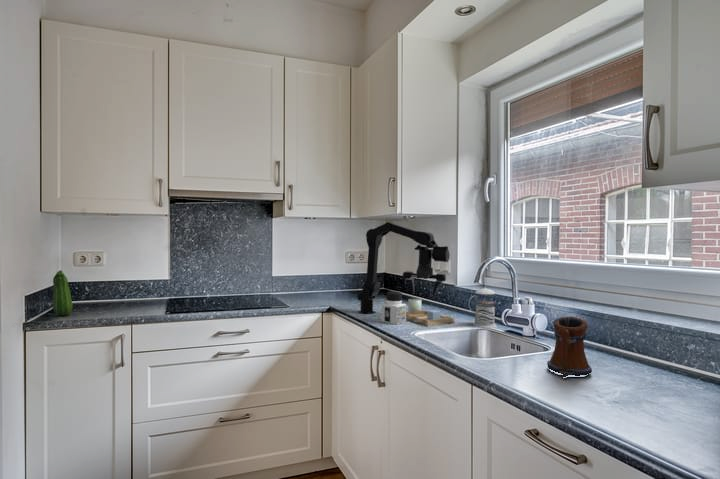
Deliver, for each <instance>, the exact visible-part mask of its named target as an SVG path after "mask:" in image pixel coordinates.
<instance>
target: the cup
mask: <svg viewBox="0 0 720 479" xmlns="http://www.w3.org/2000/svg"><path fill="white" fill-rule="evenodd" d="M413 311H422V299H421V298H408V311H407V312H413Z"/></svg>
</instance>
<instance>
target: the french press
mask: <svg viewBox="0 0 720 479" xmlns="http://www.w3.org/2000/svg"><path fill="white" fill-rule="evenodd" d="M487 269H489V266H488V267H487V268H486V269H485V268H484V270H485V276H484V277H485V279H484V280H485V281H484V283H485V284H484V288H480V289H478V290H475V294H474V295H472V296H471V297H470V298H469V300H468V303H470V302H471V300H472V299H473V298H475V299H476V300H477V294H478V295H483V296H484V298H486V296H487V295H488V296H494V295H495V294H496V292H495V291H494V290H492V289H489V288H487V286H486V285H487V284H486V283H487V277H486V276H487ZM476 303H477V304H475V311H474V310H473V309H471V307H470V305H468V307H469V311H470V312H472V313H473V314H474V322H473V324H472V325H473V327H478V328H485V329H491V328H492V329H493V328H497V327H498V326H497V324H496V323H495V318H496V317H495V311H496V310H495V305H494V304H495V302H494V301H490V300H477V301H476Z"/></svg>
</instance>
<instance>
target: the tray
mask: <svg viewBox="0 0 720 479" xmlns="http://www.w3.org/2000/svg"><path fill="white" fill-rule="evenodd" d="M427 311H428V310H427V309H426V310H425V309H423V310H421V311H413V312H408V311H406V321H410V322H413V323H417V324H418V325H419V324H420V325H422V326H426V327H431V326H440V325H441V326H442V325H449V324H450V325H451V324H455V318H454V317H452V316H448V315H444V314H441V315H440V319H435V320H427Z"/></svg>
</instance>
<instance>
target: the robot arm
mask: <svg viewBox="0 0 720 479" xmlns="http://www.w3.org/2000/svg"><path fill="white" fill-rule="evenodd" d="M390 232H391V233H395V234H397V235H401V236H402V237H403V236H404V237H406V238H408V239H411V240H412V241H414V242H415V243H418V245H417V246H416V247H415V248H414V251H415V250H416V251H418V267H417V268H416V273H414V271H412V270H411V271H410V270H406V271H403V273H402V279H404V280H405V281H407V282H408V284H409V287H410V290H411V293H412V296H413V295H415V278H416V279H423V280H427V279H432V280H435V281H434V288H433V297H435V296H436V293H437V291H438V288H439V286H440V284H442V283H443V282H446V281H447V274H445V273H442V272H441V273H436V274H434V268H433V267H432V260H433V261H434V262H442V263H448V262H449V260H450V250H449V246H446V245H445V246H441V245H440V246H439V245H438V244H437V242H436V241H435V238H434V234H432V233H431V232H427V231H422V230H421V231H420V230H415V229H412V228H409V227H405V226H402V225H399V224H397V223H394V222H392V221H387V222H385V223H383V224H381V225H379V226H377V227H375V228H370V229H368V230H367V231H366V233H365V239H366V243H367V246H368V253H367V254H368V255H367V267H366V278H365V280H364V281H363V282H364V283H363V286H362V289H361V292H360V293H359V294H358V295H356V297H357V299H358V301H360V310H357V312H358V313H361V314H363V315H365V314H376V311H374V300H373V299H376V297H377V295H378V294H379V292H380V291H381V281H378V279H377V275H378V274H377V273H378V262H379V261H378V260H379V249H380V246H381V243H382V242H383V238H384V236H386V235H388V234H389V233H390Z"/></svg>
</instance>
